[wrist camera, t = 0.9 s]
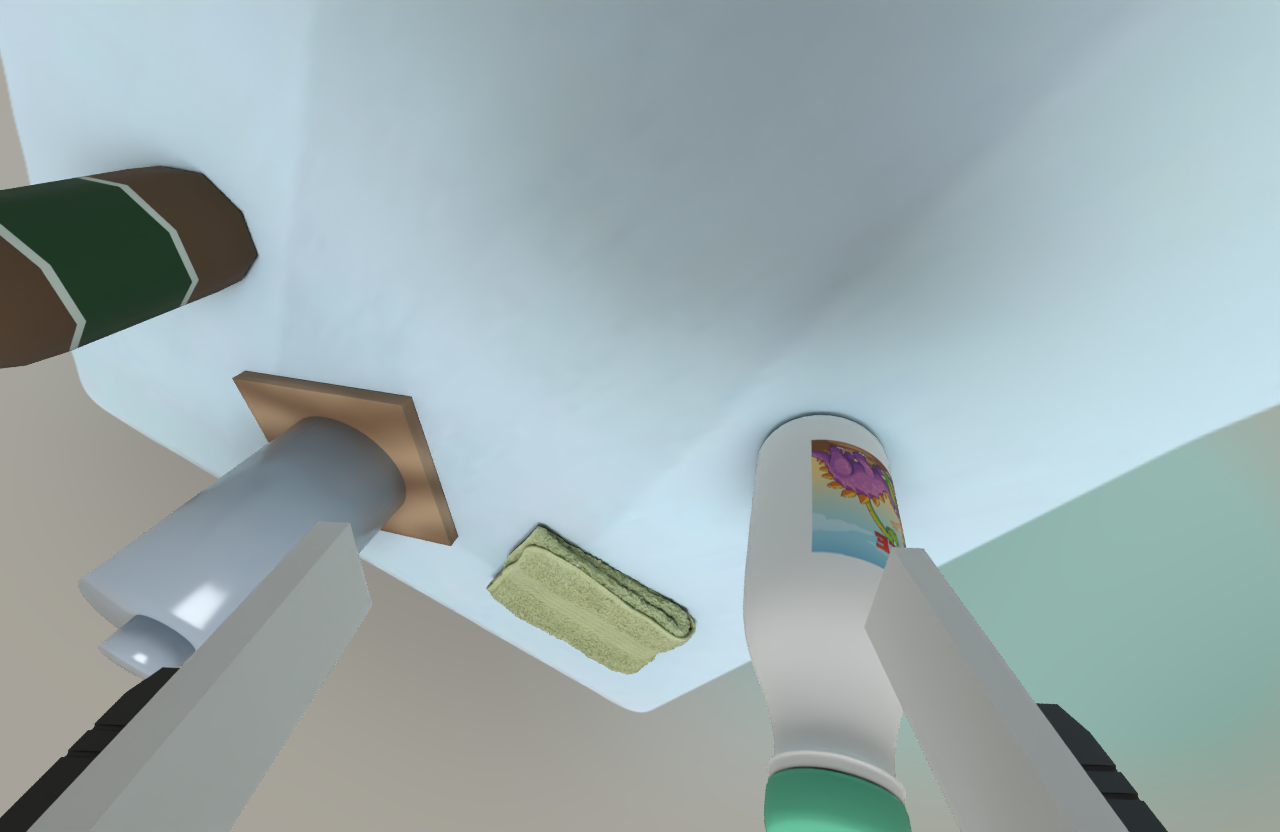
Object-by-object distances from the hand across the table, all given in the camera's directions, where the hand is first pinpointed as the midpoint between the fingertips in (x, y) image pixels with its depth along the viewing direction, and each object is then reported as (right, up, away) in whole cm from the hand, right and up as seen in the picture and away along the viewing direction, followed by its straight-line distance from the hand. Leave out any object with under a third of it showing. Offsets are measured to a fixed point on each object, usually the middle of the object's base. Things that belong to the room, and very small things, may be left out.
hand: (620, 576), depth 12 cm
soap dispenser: (-25, -1, +31) cm, 40 cm away
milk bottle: (+12, +1, +19) cm, 23 cm away
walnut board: (-25, 0, +32) cm, 40 cm away
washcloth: (-4, -13, +36) cm, 38 cm away
